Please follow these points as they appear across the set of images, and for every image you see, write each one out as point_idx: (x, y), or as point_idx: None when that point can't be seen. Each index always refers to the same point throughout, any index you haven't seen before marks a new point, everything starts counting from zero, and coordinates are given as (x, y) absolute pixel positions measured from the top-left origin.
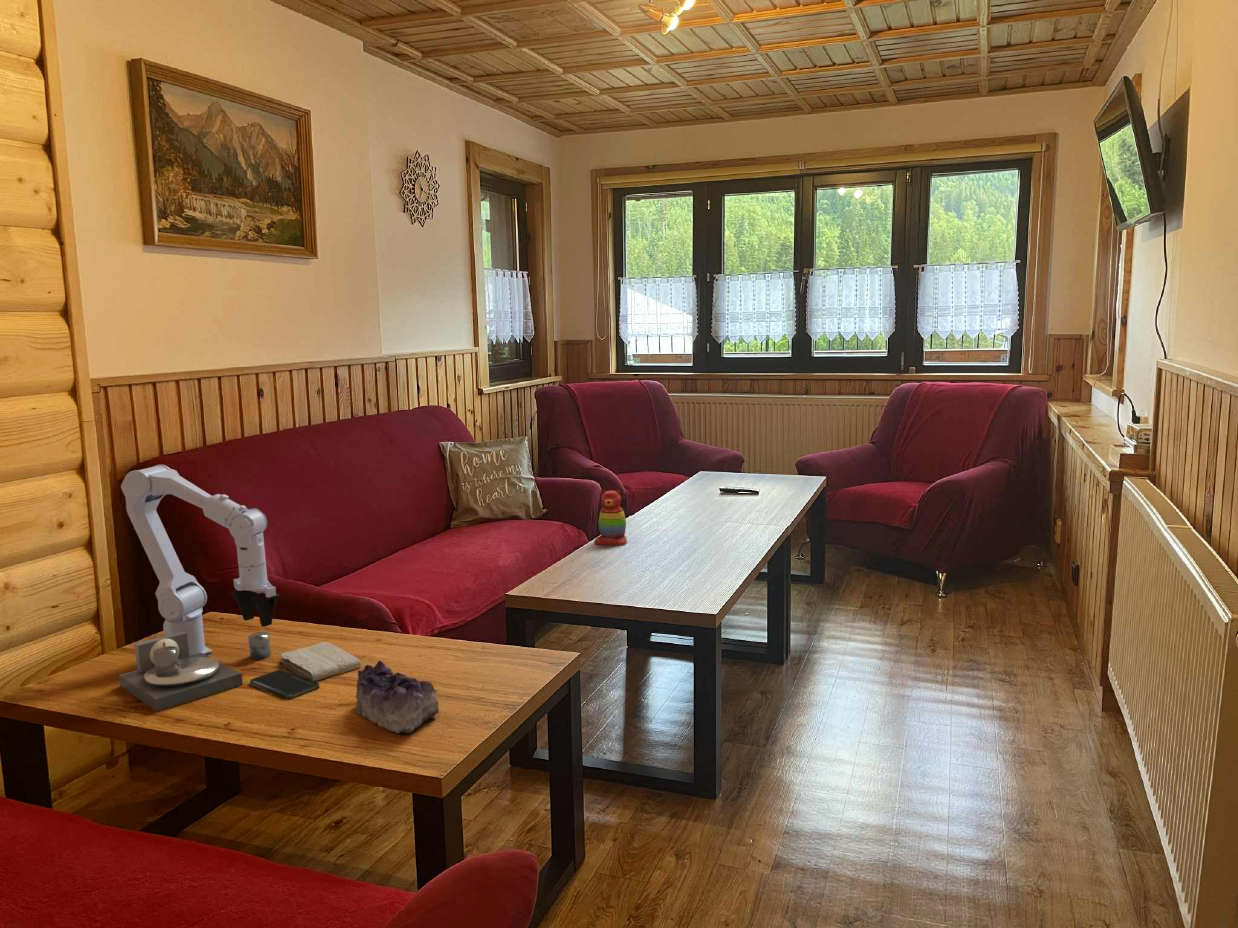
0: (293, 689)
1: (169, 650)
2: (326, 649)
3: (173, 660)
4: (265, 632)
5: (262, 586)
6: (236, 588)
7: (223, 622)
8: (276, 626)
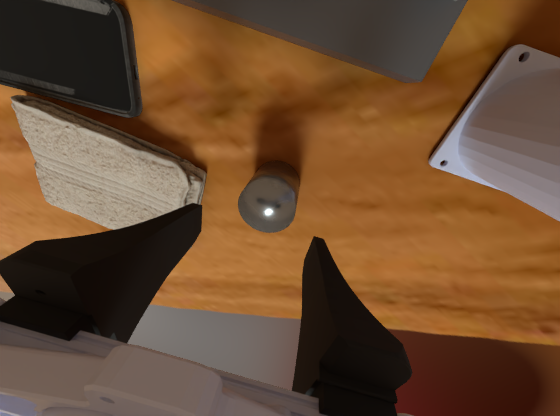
0: None
1: None
2: (134, 222)
3: None
4: (267, 230)
5: (18, 404)
6: (171, 382)
7: (528, 315)
8: (377, 310)
